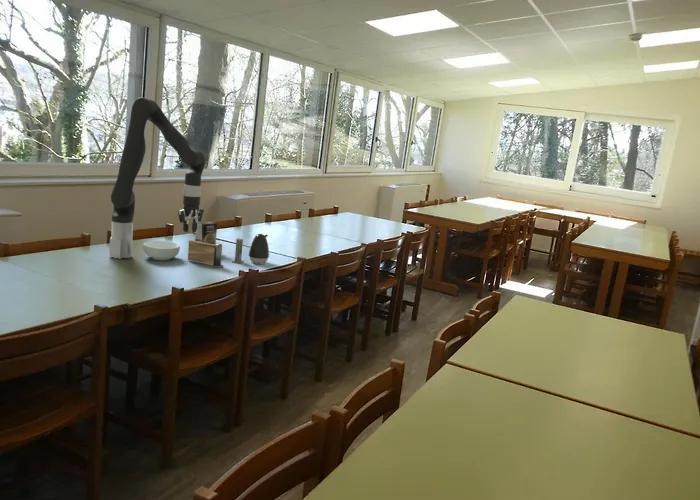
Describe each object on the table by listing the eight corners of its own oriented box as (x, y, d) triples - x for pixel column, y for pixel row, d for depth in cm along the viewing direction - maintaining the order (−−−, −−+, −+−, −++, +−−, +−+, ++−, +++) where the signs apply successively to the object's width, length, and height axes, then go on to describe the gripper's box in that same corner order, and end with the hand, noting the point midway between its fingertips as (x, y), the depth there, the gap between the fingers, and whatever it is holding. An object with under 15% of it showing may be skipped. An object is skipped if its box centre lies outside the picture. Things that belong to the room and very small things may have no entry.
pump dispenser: (272, 263, 278) (275, 234, 275) (259, 266, 269) (261, 236, 266) (257, 259, 283) (259, 230, 280) (244, 262, 274) (246, 232, 271)
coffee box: (201, 254, 278) (203, 224, 275) (193, 251, 282) (195, 221, 279) (215, 252, 286) (217, 223, 282) (208, 250, 289) (209, 220, 286)
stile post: (239, 263, 270) (241, 240, 267) (231, 262, 271) (233, 238, 269) (243, 262, 274) (245, 239, 272) (236, 260, 275) (237, 237, 273)
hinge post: (219, 268, 257) (221, 246, 255) (210, 266, 258) (211, 244, 256) (224, 266, 262) (226, 244, 260) (215, 264, 263) (217, 242, 261)
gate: (213, 265, 260) (214, 245, 258) (187, 260, 263) (188, 240, 261) (215, 264, 262) (217, 245, 259) (189, 259, 265) (190, 240, 263)
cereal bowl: (167, 264, 253) (168, 250, 251) (135, 259, 256) (136, 244, 254) (185, 257, 269) (186, 243, 268) (155, 252, 272) (156, 238, 271)
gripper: (198, 192, 254) (195, 228, 257) (174, 194, 242) (172, 231, 245) (209, 195, 250) (207, 231, 254) (185, 196, 238) (183, 234, 242)
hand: (190, 231), depth 250 cm, fingers open, 4 cm apart
